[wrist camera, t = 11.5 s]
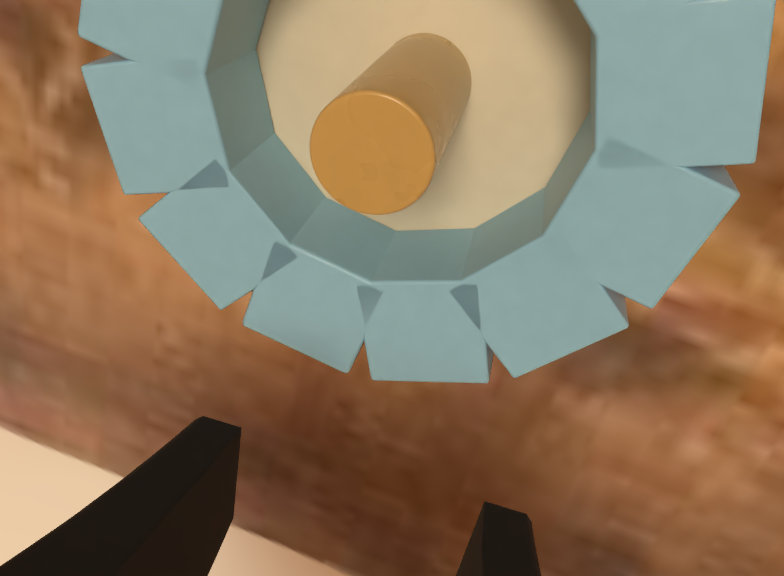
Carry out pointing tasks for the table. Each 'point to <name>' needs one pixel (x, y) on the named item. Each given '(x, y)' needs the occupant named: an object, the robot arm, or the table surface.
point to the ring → (443, 246)
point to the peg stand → (426, 101)
